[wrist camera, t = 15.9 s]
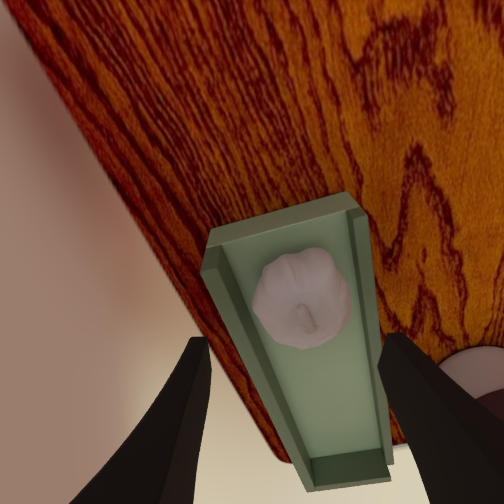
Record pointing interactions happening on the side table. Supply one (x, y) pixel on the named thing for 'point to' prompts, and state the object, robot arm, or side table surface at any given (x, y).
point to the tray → (315, 358)
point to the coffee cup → (480, 375)
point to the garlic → (302, 299)
